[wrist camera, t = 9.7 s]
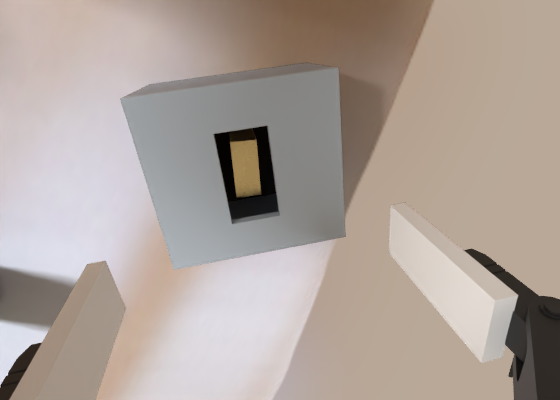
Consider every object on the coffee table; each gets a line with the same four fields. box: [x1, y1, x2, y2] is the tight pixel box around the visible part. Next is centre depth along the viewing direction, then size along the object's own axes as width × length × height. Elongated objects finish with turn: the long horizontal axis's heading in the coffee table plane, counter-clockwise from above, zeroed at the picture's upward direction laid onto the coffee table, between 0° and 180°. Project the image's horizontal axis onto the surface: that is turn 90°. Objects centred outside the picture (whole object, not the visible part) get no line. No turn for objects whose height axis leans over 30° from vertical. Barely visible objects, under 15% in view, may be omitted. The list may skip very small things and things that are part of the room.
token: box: [229, 128, 261, 197], centre depth 32 cm, size 5×2×7 cm, turn 3°
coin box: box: [120, 63, 346, 270], centre depth 30 cm, size 14×15×10 cm
